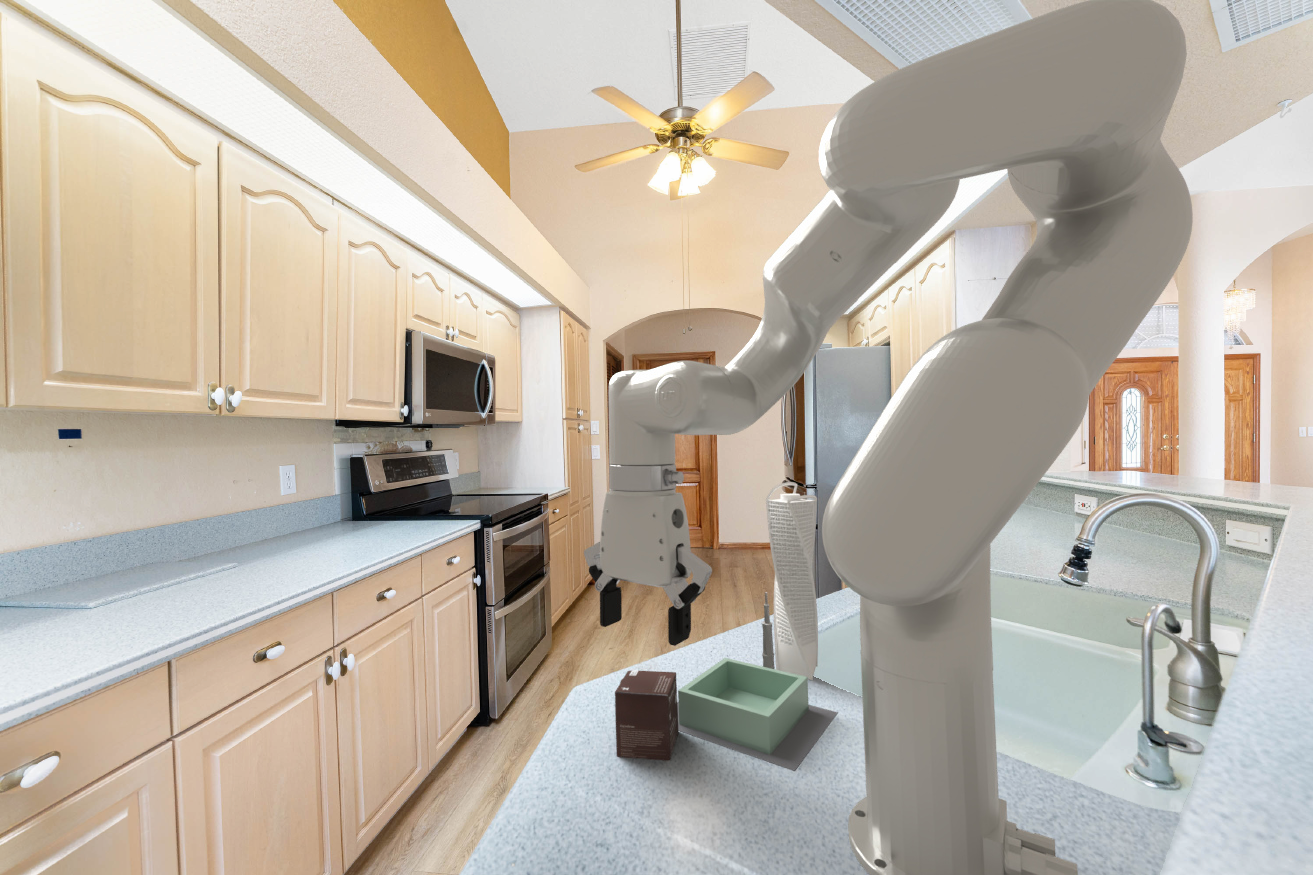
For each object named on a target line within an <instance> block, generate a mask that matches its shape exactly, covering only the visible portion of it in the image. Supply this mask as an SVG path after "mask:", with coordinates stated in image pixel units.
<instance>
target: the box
mask: <svg viewBox="0 0 1313 875" xmlns="http://www.w3.org/2000/svg"><path fill="white" fill-rule="evenodd" d="M677 684H678V683H677V672H675V671H652V670H639V669H638V670H636V669H635V670H628V671H627V672H626V673H625V675H624V677H623V678H622V679H621V680H620V682H619V685H618V687H617V688H616V689H615V691H614V706H615V707H614V709H615V712H614V714H615V742H616V745H615V746H616V747H615V748H616V749H615V750H616V757H619V758H628V759H631V758H632V759H641V760H653V761H664V762H665V761H667V762H669V761H671V760H672V755H673V753H674V750H675V746H676V742H677V739H678V735H679V731H678V706H677V702H678V688H677Z"/></svg>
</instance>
